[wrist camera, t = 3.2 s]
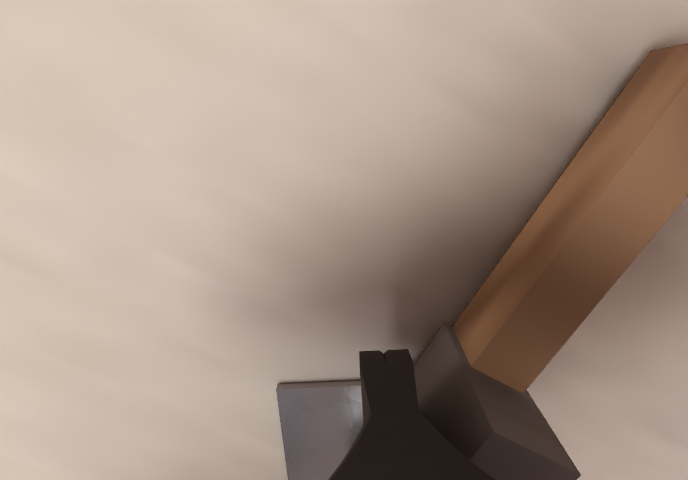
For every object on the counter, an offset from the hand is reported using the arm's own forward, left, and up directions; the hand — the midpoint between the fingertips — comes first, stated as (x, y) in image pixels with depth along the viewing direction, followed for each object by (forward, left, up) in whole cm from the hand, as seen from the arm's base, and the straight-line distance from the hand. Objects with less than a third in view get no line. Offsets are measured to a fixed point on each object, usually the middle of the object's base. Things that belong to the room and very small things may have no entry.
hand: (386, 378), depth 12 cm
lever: (+2, -5, -2) cm, 6 cm away
